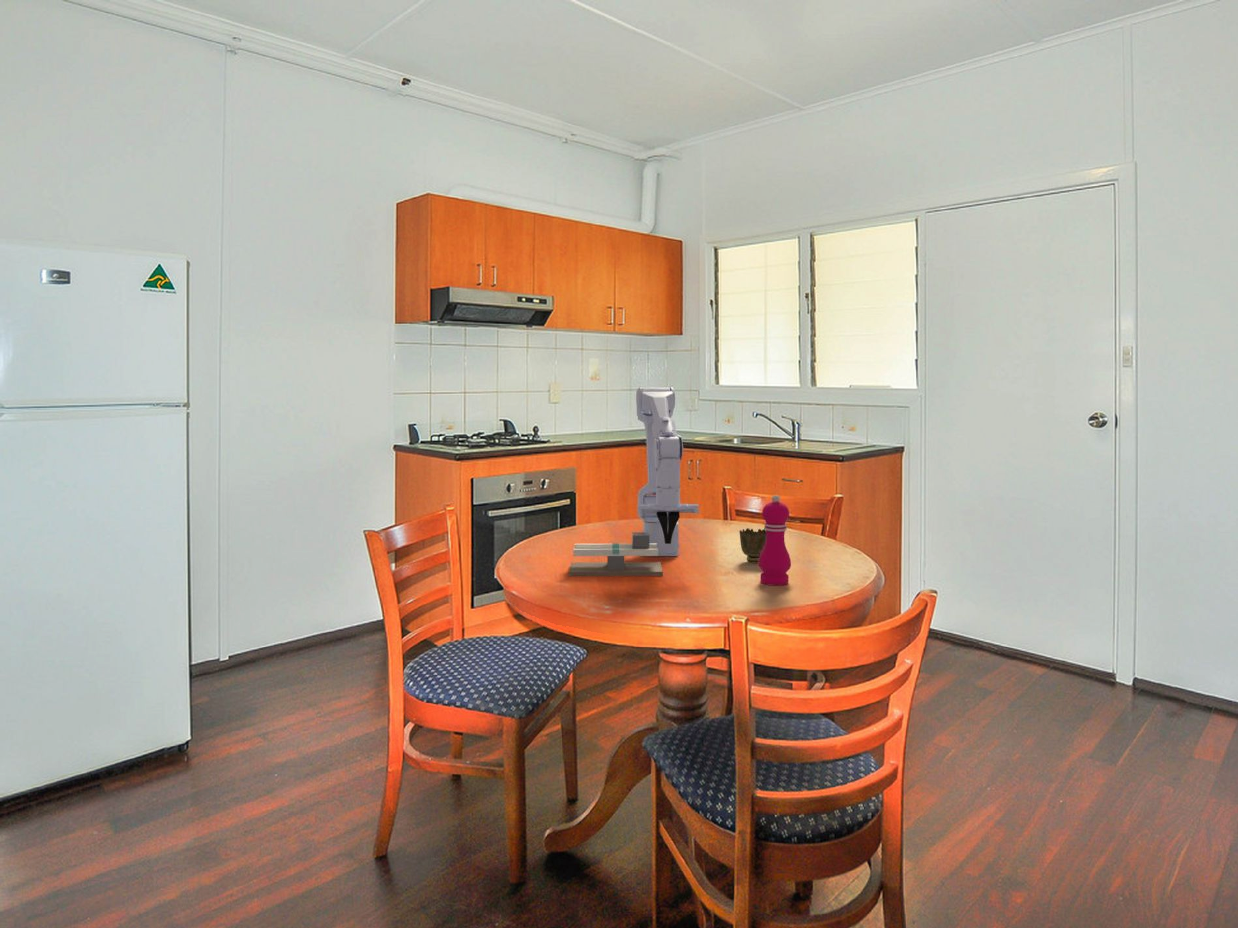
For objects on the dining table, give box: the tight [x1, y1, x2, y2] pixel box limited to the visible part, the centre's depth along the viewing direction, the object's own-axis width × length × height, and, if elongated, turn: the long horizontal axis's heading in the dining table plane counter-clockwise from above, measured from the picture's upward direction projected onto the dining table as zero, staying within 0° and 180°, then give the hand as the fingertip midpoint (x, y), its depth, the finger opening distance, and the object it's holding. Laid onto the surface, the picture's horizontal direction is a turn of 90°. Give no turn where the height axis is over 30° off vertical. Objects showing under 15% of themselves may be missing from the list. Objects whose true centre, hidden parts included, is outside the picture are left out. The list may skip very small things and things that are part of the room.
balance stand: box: [568, 542, 664, 577], centre depth 188 cm, size 22×10×6 cm, turn 91°
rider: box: [631, 531, 649, 549], centre depth 188 cm, size 4×4×4 cm
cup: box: [739, 527, 766, 564], centre depth 197 cm, size 8×7×8 cm
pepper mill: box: [758, 494, 792, 586], centre depth 177 cm, size 7×7×20 cm
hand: (667, 542), depth 188 cm, fingers closed
